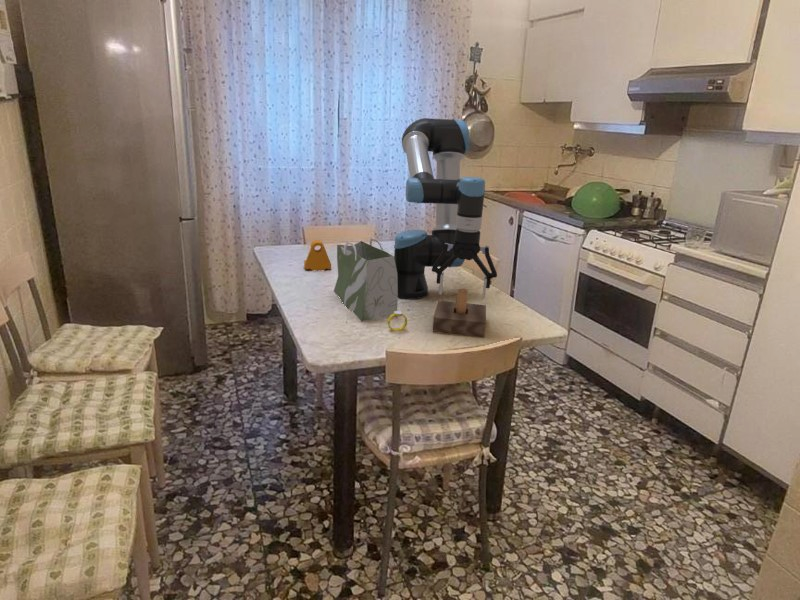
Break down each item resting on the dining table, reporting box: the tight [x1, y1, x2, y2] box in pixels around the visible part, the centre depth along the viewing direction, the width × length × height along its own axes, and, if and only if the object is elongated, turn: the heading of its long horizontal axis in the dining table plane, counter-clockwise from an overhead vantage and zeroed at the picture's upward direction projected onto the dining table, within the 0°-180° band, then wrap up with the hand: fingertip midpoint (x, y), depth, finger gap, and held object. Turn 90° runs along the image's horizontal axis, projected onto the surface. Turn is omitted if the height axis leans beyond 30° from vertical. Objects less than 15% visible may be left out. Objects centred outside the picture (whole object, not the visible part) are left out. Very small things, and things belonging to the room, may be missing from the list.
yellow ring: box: [387, 310, 408, 332], centre depth 164 cm, size 6×3×6 cm, turn 105°
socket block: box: [431, 300, 487, 338], centre depth 169 cm, size 16×16×5 cm
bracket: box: [303, 239, 332, 271], centre depth 223 cm, size 11×7×12 cm, turn 104°
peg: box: [456, 288, 468, 314], centre depth 168 cm, size 3×3×12 cm
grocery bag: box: [333, 237, 399, 323], centre depth 182 cm, size 32×14×23 cm, turn 24°
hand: (461, 295), depth 167 cm, fingers open, 13 cm apart
